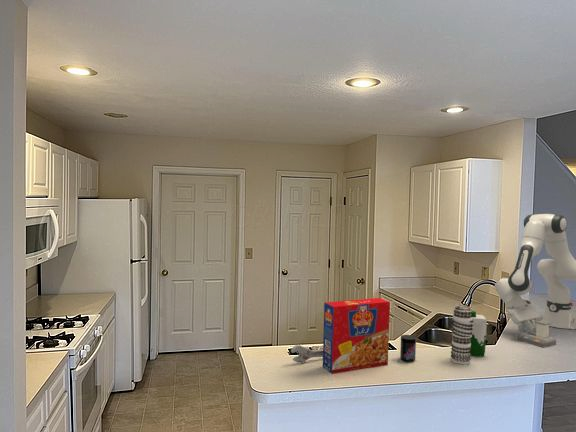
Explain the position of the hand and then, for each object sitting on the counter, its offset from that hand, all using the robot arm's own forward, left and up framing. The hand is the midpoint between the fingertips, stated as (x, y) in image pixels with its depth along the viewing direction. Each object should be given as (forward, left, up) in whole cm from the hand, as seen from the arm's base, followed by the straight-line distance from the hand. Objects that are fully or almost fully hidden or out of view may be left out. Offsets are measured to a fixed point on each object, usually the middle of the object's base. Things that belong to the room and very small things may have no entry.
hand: (534, 328), depth 226 cm
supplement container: (+80, -11, -7) cm, 81 cm away
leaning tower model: (+59, +1, -7) cm, 60 cm away
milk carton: (+45, -2, -7) cm, 46 cm away
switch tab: (0, +4, -4) cm, 6 cm away
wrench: (+116, -29, -7) cm, 120 cm away
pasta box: (+106, -17, -7) cm, 108 cm away
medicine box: (-15, -12, -7) cm, 20 cm away
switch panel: (0, +2, -7) cm, 7 cm away
